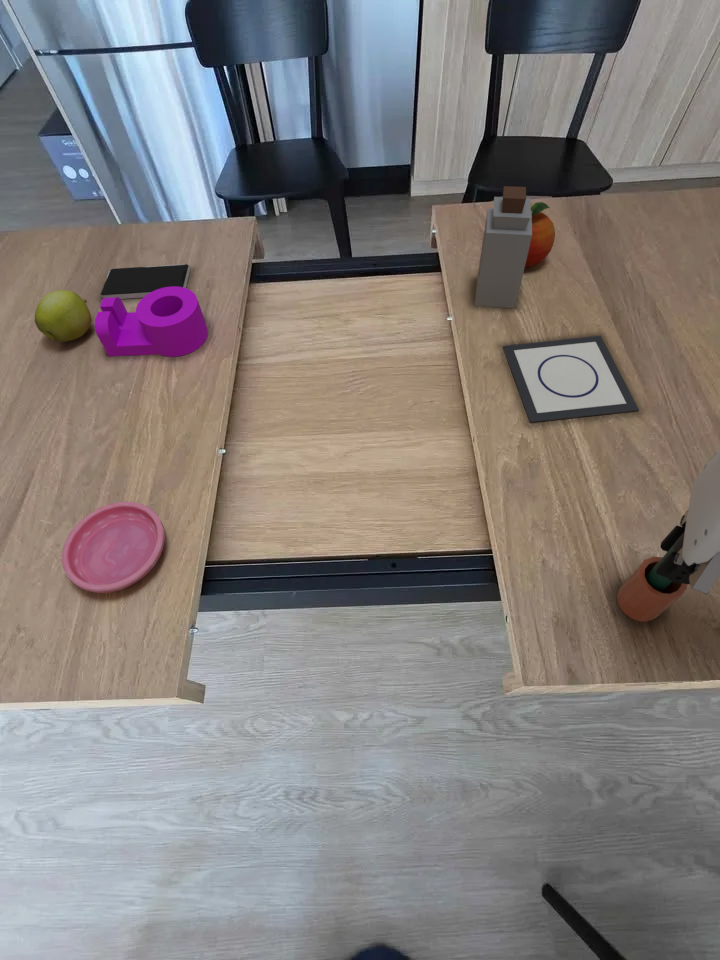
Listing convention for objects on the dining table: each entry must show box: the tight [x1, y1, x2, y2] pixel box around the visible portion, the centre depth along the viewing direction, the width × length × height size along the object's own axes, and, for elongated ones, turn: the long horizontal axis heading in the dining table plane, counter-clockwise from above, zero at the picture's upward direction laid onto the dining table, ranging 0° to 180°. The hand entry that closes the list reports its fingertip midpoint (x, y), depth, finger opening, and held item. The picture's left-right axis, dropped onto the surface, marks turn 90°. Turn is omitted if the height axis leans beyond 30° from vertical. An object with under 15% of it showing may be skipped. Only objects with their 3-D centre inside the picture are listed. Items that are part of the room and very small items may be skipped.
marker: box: [645, 532, 685, 592], centre depth 57 cm, size 2×2×13 cm
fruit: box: [525, 201, 556, 268], centre depth 97 cm, size 10×10×10 cm
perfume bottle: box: [474, 185, 532, 310], centre depth 89 cm, size 7×7×18 cm
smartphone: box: [100, 263, 191, 300], centre depth 102 cm, size 8×1×15 cm
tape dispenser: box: [94, 286, 209, 358], centre depth 91 cm, size 16×10×6 cm, turn 91°
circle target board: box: [502, 335, 640, 424], centre depth 84 cm, size 16×16×1 cm
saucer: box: [61, 501, 166, 594], centre depth 70 cm, size 12×12×3 cm
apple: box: [34, 289, 92, 343], centre depth 92 cm, size 8×9×8 cm
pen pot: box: [616, 556, 688, 623], centre depth 62 cm, size 5×5×7 cm
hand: (674, 563), depth 56 cm, fingers closed on marker, 2 cm apart
